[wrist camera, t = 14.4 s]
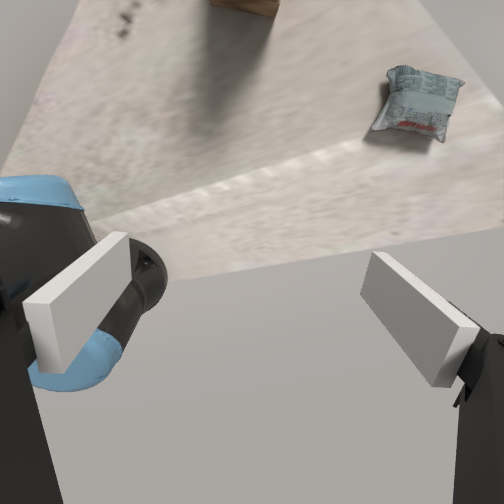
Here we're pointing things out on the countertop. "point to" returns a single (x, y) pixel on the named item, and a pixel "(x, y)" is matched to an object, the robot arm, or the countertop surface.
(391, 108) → the packaged food
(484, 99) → the countertop surface
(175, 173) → the countertop surface
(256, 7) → the walnut base
